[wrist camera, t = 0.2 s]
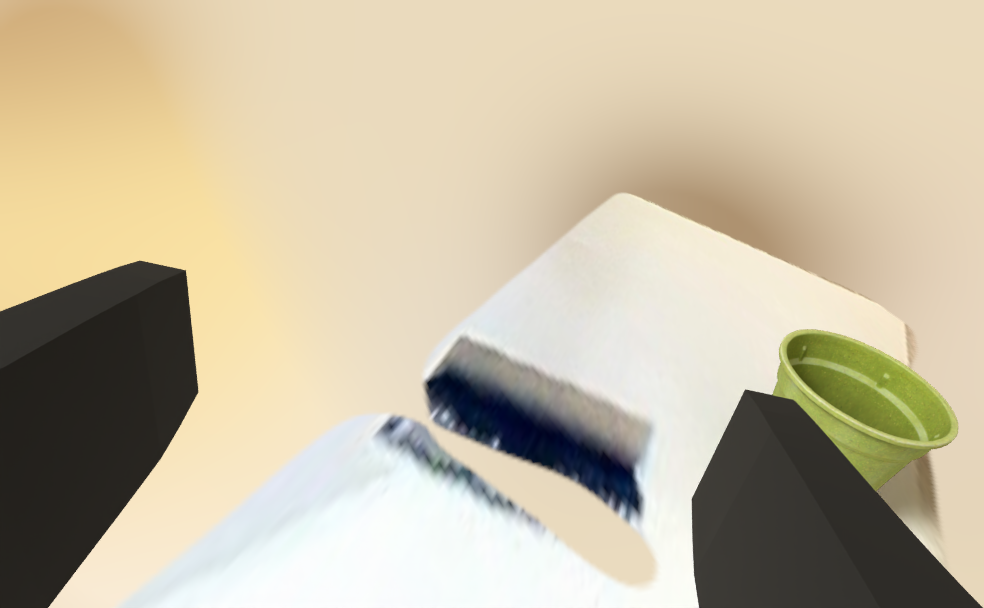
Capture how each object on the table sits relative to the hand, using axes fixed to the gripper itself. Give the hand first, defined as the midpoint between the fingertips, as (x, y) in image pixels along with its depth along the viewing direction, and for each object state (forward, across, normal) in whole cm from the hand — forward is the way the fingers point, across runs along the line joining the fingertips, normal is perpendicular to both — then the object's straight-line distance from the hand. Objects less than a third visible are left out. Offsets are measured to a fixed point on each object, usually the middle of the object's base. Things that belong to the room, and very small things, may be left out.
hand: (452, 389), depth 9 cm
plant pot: (+24, -20, +23) cm, 39 cm away
